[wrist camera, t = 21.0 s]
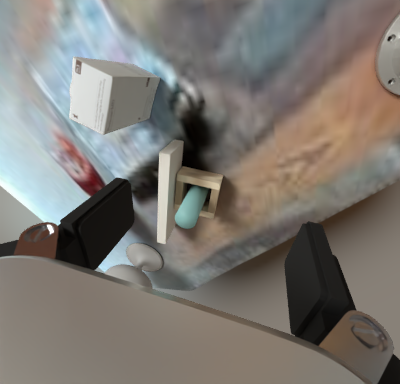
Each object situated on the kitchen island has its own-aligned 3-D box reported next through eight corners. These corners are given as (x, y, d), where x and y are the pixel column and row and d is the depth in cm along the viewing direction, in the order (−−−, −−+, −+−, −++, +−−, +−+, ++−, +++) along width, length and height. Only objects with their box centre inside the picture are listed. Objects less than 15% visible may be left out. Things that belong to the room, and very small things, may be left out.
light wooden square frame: (223, 175, 44) (220, 183, 41) (216, 208, 49) (213, 219, 46) (182, 166, 45) (176, 173, 42) (179, 199, 50) (174, 209, 47)
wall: (183, 141, 43) (170, 154, 36) (176, 222, 54) (165, 244, 48) (174, 139, 43) (159, 152, 36) (169, 220, 55) (157, 242, 48)
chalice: (162, 242, 60) (137, 289, 47) (169, 275, 67) (148, 323, 54) (119, 237, 63) (84, 279, 50) (129, 268, 70) (101, 313, 57)
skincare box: (150, 118, 42) (105, 140, 30) (123, 105, 42) (66, 121, 29) (161, 74, 37) (114, 77, 25) (131, 59, 37) (68, 55, 25)
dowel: (210, 182, 46) (197, 213, 36) (207, 197, 48) (194, 230, 38) (192, 178, 47) (175, 208, 37) (191, 193, 49) (174, 225, 39)
